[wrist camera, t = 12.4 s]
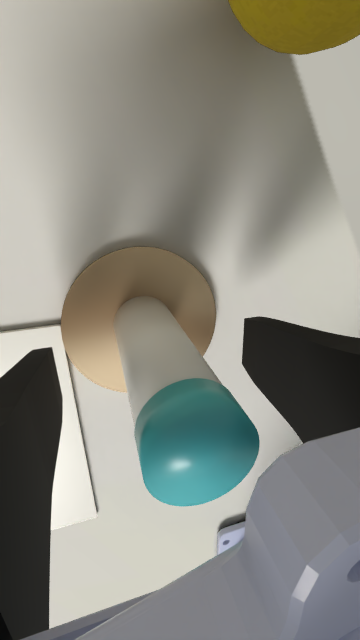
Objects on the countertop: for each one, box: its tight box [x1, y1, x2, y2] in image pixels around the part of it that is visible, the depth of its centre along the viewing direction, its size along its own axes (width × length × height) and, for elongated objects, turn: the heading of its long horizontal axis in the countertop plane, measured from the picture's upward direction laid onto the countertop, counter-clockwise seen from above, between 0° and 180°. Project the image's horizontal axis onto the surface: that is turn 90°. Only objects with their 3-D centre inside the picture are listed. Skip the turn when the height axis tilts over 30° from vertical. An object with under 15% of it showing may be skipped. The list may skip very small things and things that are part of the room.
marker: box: [114, 296, 259, 506], centre depth 10 cm, size 3×3×8 cm
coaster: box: [61, 247, 216, 393], centre depth 14 cm, size 7×7×1 cm
